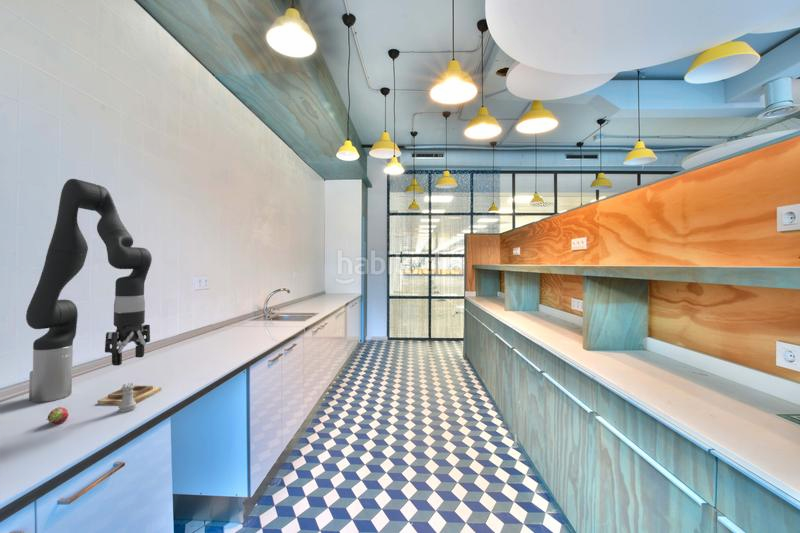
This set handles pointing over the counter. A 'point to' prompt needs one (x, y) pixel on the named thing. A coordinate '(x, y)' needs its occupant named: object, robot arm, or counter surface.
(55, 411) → the fruit
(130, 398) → the rook chess piece
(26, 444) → the counter surface
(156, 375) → the counter surface
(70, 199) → the robot arm
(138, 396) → the display stand
